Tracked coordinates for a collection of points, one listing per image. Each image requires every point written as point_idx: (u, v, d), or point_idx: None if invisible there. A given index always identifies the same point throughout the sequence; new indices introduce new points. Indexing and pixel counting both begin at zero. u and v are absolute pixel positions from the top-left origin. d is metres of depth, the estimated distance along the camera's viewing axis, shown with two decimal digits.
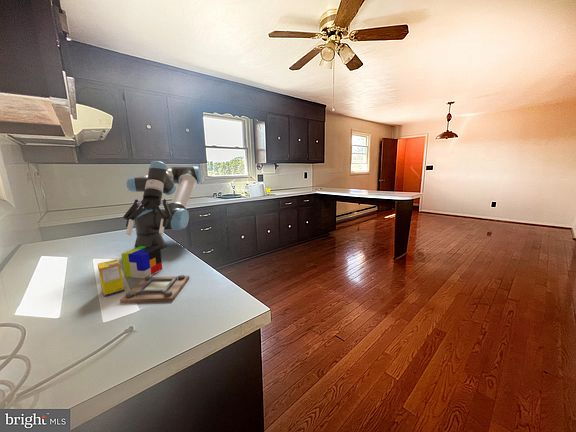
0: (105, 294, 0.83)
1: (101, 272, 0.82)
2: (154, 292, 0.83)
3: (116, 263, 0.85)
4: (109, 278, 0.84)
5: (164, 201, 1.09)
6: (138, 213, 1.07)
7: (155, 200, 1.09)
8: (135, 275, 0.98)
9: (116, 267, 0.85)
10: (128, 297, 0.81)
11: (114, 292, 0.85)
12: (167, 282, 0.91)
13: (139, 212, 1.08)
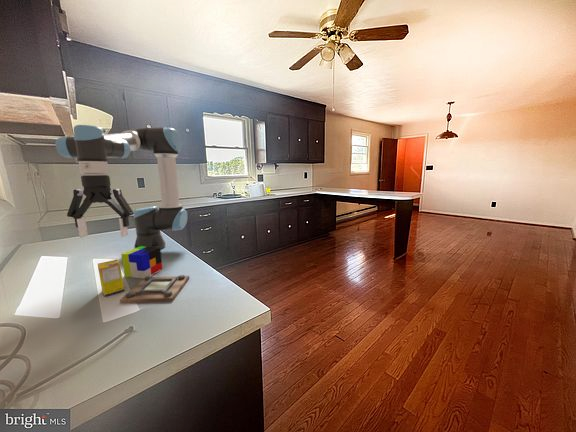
0: (105, 294, 0.83)
1: (101, 272, 0.82)
2: (154, 292, 0.83)
3: (116, 263, 0.85)
4: (109, 278, 0.84)
5: (115, 192, 0.80)
6: (86, 208, 0.81)
7: (102, 191, 0.79)
8: (135, 275, 0.98)
9: (116, 267, 0.85)
10: (128, 297, 0.81)
11: (114, 292, 0.85)
12: (167, 282, 0.91)
13: (86, 207, 0.81)
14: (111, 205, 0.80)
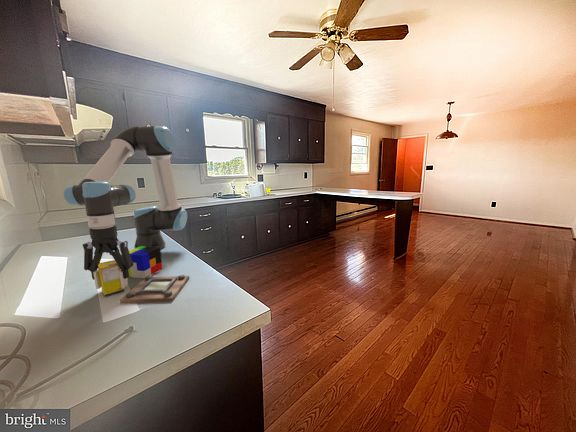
0: (105, 294, 0.83)
1: (101, 272, 0.82)
2: (154, 292, 0.83)
3: (116, 263, 0.85)
4: (109, 278, 0.84)
5: (122, 246, 0.83)
6: (98, 259, 0.85)
7: (110, 241, 0.83)
8: (135, 275, 0.98)
9: (116, 267, 0.85)
10: (128, 297, 0.81)
11: (114, 292, 0.85)
12: (167, 282, 0.91)
13: (99, 258, 0.85)
14: (115, 257, 0.84)
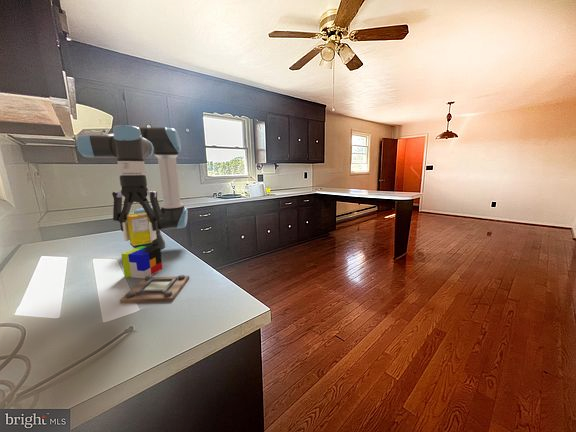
0: (134, 245, 0.80)
1: (131, 221, 0.79)
2: (154, 292, 0.83)
3: (145, 214, 0.82)
4: (138, 228, 0.81)
5: (152, 195, 0.80)
6: (128, 210, 0.82)
7: (140, 190, 0.80)
8: (135, 275, 0.98)
9: (145, 218, 0.82)
10: (128, 297, 0.81)
11: (143, 244, 0.82)
12: (167, 282, 0.91)
13: (128, 208, 0.82)
14: (144, 207, 0.81)
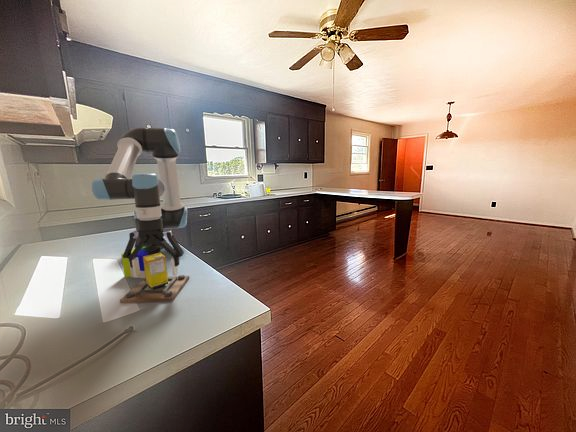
0: (151, 286, 0.84)
1: (148, 264, 0.82)
2: (154, 292, 0.83)
3: (161, 256, 0.86)
4: (155, 270, 0.84)
5: (168, 235, 0.84)
6: (140, 249, 0.85)
7: (156, 233, 0.83)
8: None
9: (161, 260, 0.85)
10: (128, 297, 0.81)
11: (159, 285, 0.86)
12: None
13: (140, 248, 0.85)
14: (164, 247, 0.84)
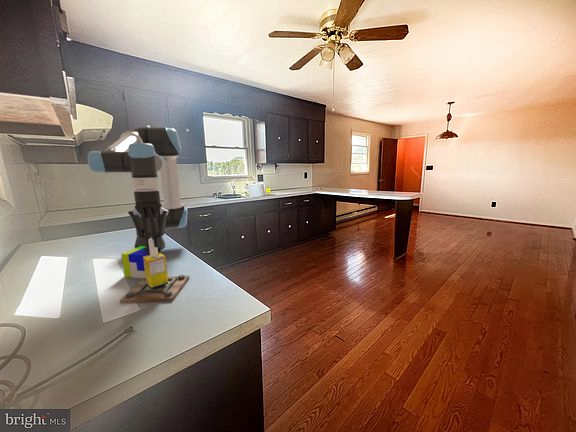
0: (151, 286, 0.84)
1: (148, 265, 0.82)
2: (154, 292, 0.83)
3: (161, 256, 0.86)
4: (155, 270, 0.84)
5: (163, 213, 0.82)
6: (148, 225, 0.84)
7: (154, 205, 0.81)
8: (135, 275, 0.98)
9: (162, 260, 0.85)
10: (128, 297, 0.81)
11: (159, 285, 0.86)
12: None
13: (148, 223, 0.83)
14: (152, 223, 0.82)
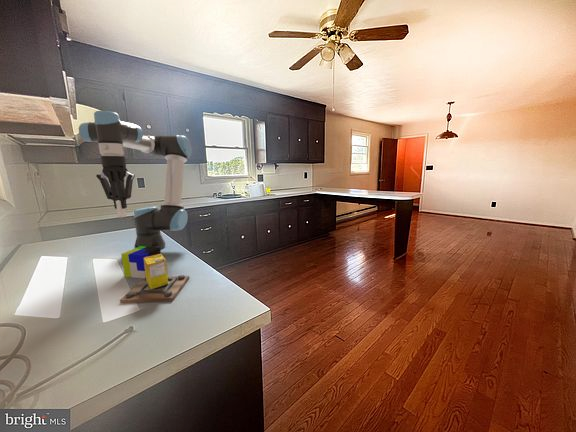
0: (151, 288, 0.84)
1: (149, 268, 0.82)
2: (154, 292, 0.83)
3: (162, 259, 0.85)
4: (155, 273, 0.84)
5: (129, 177, 0.91)
6: (116, 188, 0.92)
7: (120, 169, 0.90)
8: (135, 275, 0.98)
9: (162, 263, 0.84)
10: (128, 297, 0.81)
11: (159, 286, 0.86)
12: None
13: (115, 186, 0.92)
14: (119, 186, 0.91)
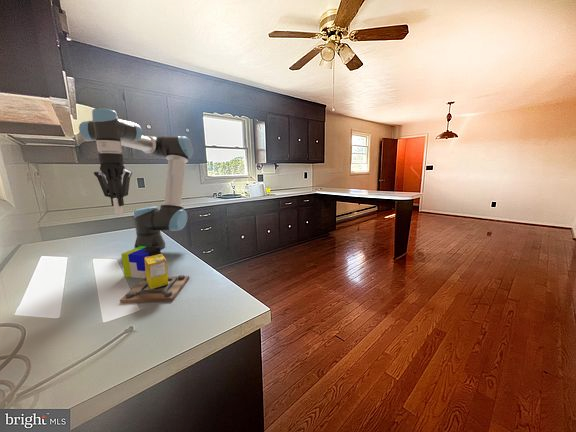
0: (151, 288, 0.84)
1: (149, 268, 0.82)
2: (154, 292, 0.83)
3: (163, 259, 0.85)
4: (156, 273, 0.84)
5: (126, 174, 0.91)
6: (113, 185, 0.93)
7: (117, 166, 0.90)
8: (135, 275, 0.98)
9: (163, 263, 0.85)
10: (128, 297, 0.81)
11: (159, 287, 0.86)
12: None
13: (113, 184, 0.92)
14: (116, 183, 0.91)
